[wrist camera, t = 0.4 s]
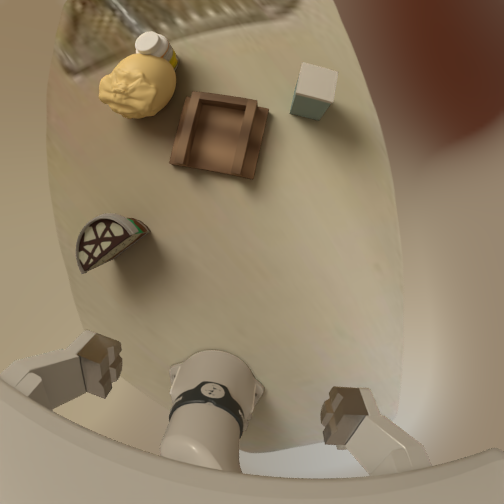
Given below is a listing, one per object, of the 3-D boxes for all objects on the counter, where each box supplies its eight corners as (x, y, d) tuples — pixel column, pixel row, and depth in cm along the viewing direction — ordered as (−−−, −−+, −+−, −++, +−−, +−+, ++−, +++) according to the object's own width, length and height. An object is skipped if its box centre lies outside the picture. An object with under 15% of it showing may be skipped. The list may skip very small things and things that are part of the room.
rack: (253, 179, 46) (252, 176, 41) (171, 164, 46) (163, 160, 41) (268, 111, 44) (269, 102, 39) (188, 99, 44) (181, 90, 39)
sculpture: (112, 116, 44) (81, 101, 34) (140, 61, 42) (117, 36, 31) (162, 132, 45) (138, 118, 34) (192, 74, 43) (176, 47, 32)
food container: (139, 197, 47) (112, 196, 37) (157, 226, 48) (133, 232, 38) (92, 235, 48) (61, 242, 38) (108, 263, 49) (79, 275, 39)
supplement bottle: (146, 74, 43) (123, 52, 33) (159, 50, 42) (141, 25, 32) (170, 81, 43) (152, 57, 33) (185, 56, 42) (169, 30, 32)
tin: (319, 121, 44) (333, 102, 34) (289, 113, 44) (295, 92, 34) (324, 95, 43) (338, 71, 33) (294, 87, 43) (302, 62, 33)
